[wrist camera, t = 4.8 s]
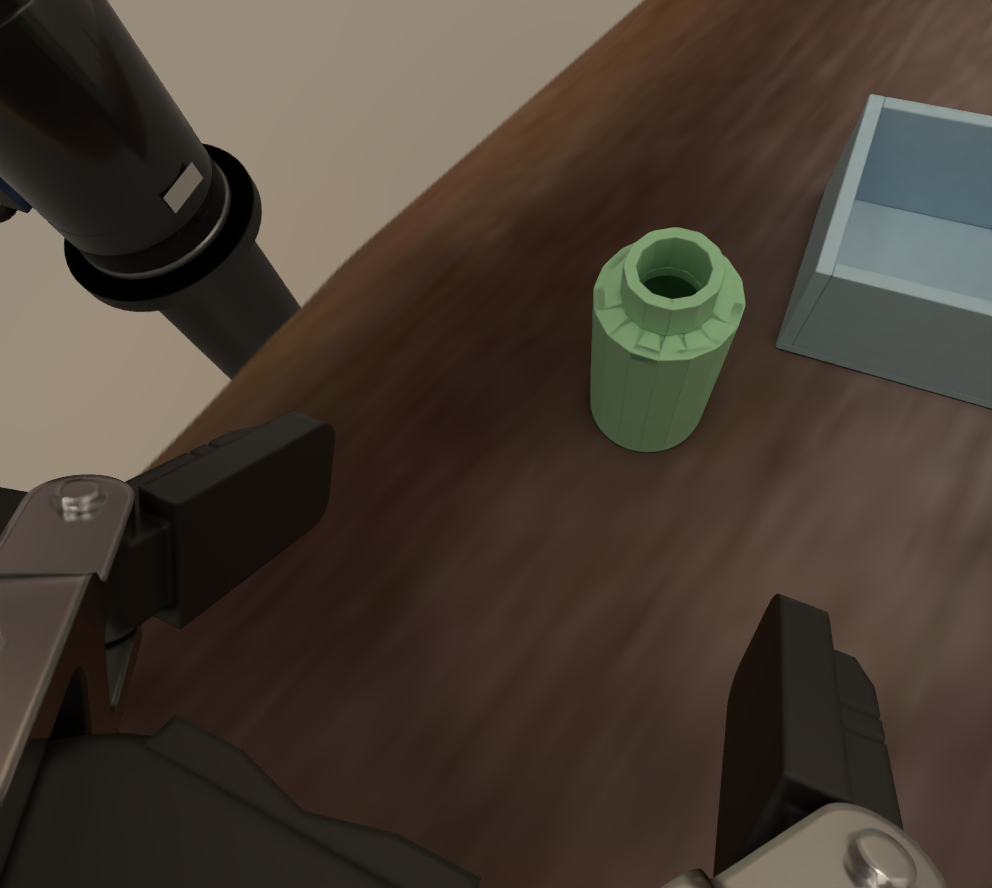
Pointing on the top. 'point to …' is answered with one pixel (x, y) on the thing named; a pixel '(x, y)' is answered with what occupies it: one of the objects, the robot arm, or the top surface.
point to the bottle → (661, 337)
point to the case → (903, 253)
